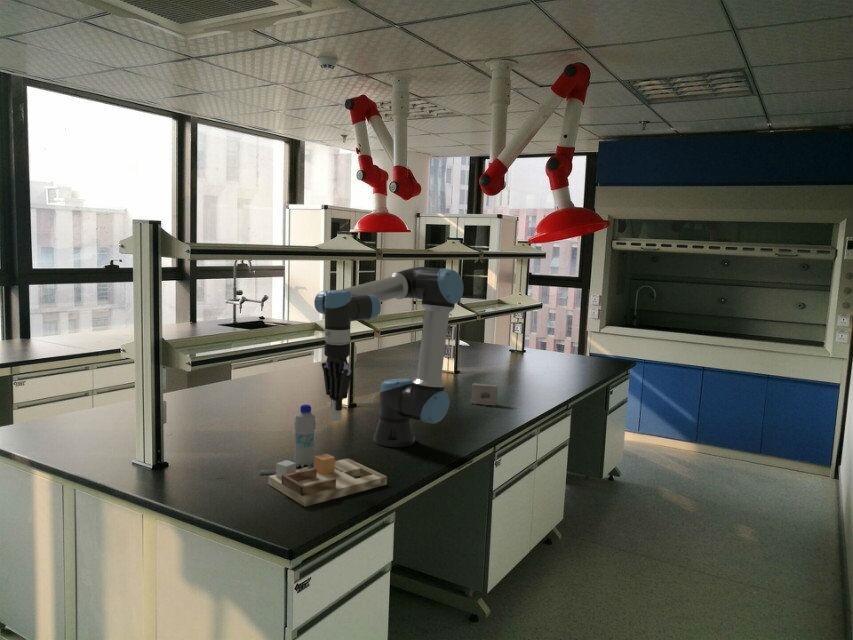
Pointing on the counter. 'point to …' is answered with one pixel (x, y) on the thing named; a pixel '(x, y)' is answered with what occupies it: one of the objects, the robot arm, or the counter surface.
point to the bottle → (304, 437)
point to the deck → (344, 482)
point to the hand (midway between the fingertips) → (336, 420)
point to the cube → (324, 463)
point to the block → (285, 468)
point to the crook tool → (267, 472)
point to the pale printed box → (484, 394)
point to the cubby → (294, 485)
